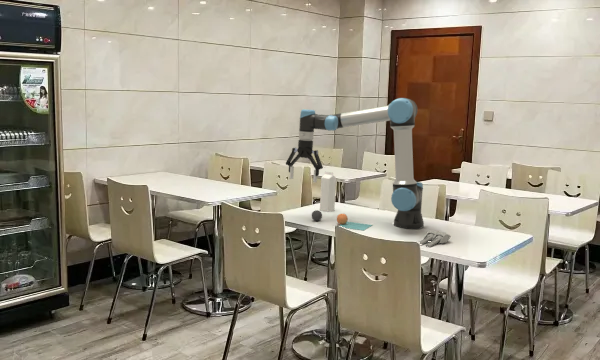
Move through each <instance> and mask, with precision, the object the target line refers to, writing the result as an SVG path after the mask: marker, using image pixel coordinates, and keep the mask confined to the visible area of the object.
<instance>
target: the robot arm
mask: <svg viewBox="0 0 600 360" xmlns="http://www.w3.org/2000/svg"><path fill="white" fill-rule="evenodd" d="M417 115H418V105H417V104H416V102H415V100H413V99H410V98H406V97H397V98H396V99H394V100H392V101H391V102H390V103H389V104H388V105H385V106H378V107H373V108H372V107H371V108H366V109H360V110H359V109H357V110H353V111H347V112H341V113H335V114H317V113H316V110H314V109H305V108H304V109H301V111H300V117H299V130H298V131H299V132H298V140H297V141H298V143H297V147H293V148H292V149H291V152H290V155H289V156H288V158H287V160H286V162H285V165H287V166H288V173H289V180H293V179H294V172H295V171H294V170H295V165H294V164H296V163H297V161H298V160H299V159H300V158H302V159H303V158H304V159H308V161H310V163H311V164H312V166H313V168H314V169H313V180H312V183H314V184H315V183H317V181H318V176H319V174H320V170H322V169H323V168H324V167H323V163H322V161H321V158H320V155H319V150H318V149H316V150H313V148H314V147H313V146H314V135H315V134H314V133H315V132H314V131H315V130H322V131H330V132H331V131H336V130H338V129H342V128H349V127H350V128H351V127H355V126H363V125H368V124H375V123H376V124H377V123H382V122H389V124H390V125H389V126H390V128H391V129H392V130H393V143H394V148H393V149H394V171H395V180H394V181H393V182H392V193H391V198H390V199H391V204H392V206H393V207H394V208H395V210H396V209H397V211H396V214H395V217H394V219H393V226H395V227H397V228H401V229H412V230H417V229H423V228H424V225H425V223H424V222H425V221H424V218H423V214H422V204H423V190H424V188H423V187H424V184H423V183H422V182H421V181H417V180H415V178H414V158H413V157H414V156H413V155H414V153H413V151H414V150H413V128H415V125H416V122H415V119H416V116H417ZM296 153H297V155H296ZM295 155H296V156H295ZM313 156H314V157H313Z"/></svg>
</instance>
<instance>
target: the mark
mask: <svg viewBox="0 0 600 360" xmlns="http://www.w3.org/2000/svg"><path fill="white" fill-rule="evenodd" d="M339 225H340V226H342V227H345V228H344V229H349V228H350V229H351V230H357V231H365V230H367V229H369V228H371V227H372V226H373V224H370V223H369V224H368V223H361V222H353V221H347V222H346V223H345V224H339ZM342 227H341V228H342Z"/></svg>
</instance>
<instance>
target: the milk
mask: <svg viewBox="0 0 600 360" xmlns="http://www.w3.org/2000/svg"><path fill="white" fill-rule="evenodd" d="M336 186H337V177H336V176H334V173H333V172H331V171H324V174H323V175H322V176H321V179H320V198H319V199H320V201H319V211H320V212H327V213H331V212H334V211H335V209H336V208H335V205H336Z"/></svg>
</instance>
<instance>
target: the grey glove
mask: <svg viewBox="0 0 600 360" xmlns="http://www.w3.org/2000/svg"><path fill="white" fill-rule="evenodd" d="M450 238H451V235H450V234H448V233H447V232H444V231H436V230H430V229H429V230H428V231H427V232H426V234H425V236H424V237H423V239H421V240H420V241H419V242H420V244H423V245H424V244H425V245H424V247H425V246H426V247H427V246H428V247H429V248H431V247H432V246H435V244H436V243H441V244H446V243H448V241H449V240H450ZM428 241H431V242H428ZM426 242H428V243H426ZM436 245H437V244H436ZM430 246H431V247H430ZM428 247H427V248H428Z"/></svg>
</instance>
